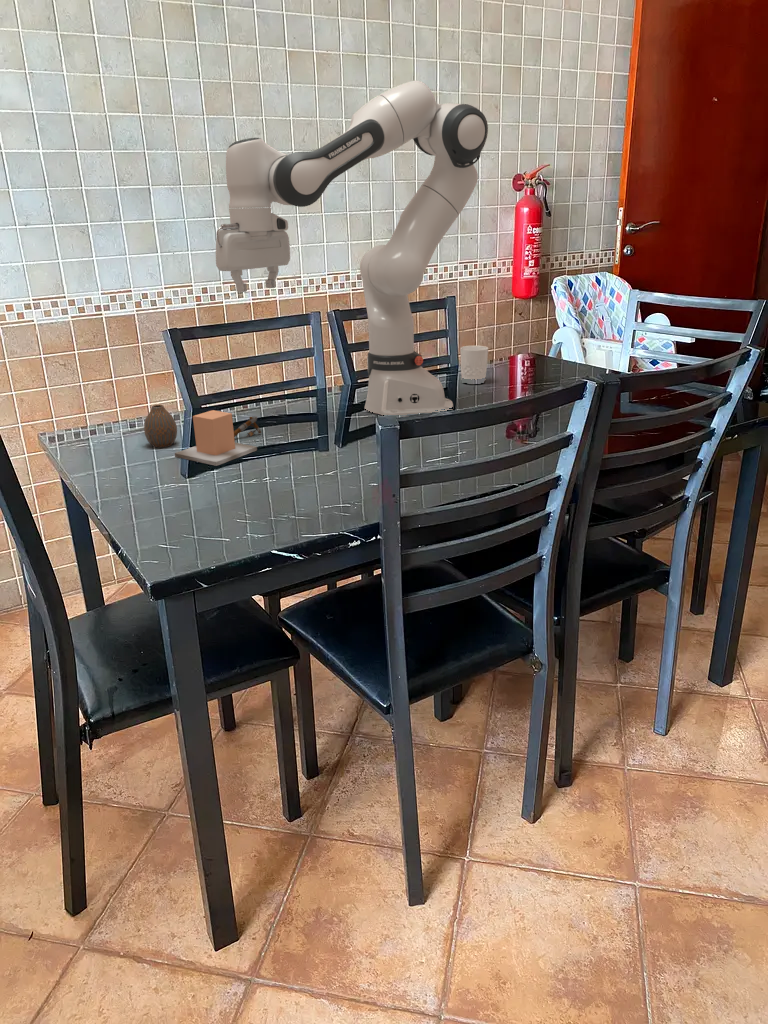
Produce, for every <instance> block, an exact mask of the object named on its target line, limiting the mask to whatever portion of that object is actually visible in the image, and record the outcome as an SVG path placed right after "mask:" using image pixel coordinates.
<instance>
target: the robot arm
mask: <svg viewBox="0 0 768 1024" xmlns="http://www.w3.org/2000/svg"><path fill="white" fill-rule="evenodd" d="M349 125H350V126H349V127H348V129H346V131H345V132H343V133H342V134H340V135H338V136H337V137H335V138H334V139H332V140H331V141H329V142H327V143H326V144H324V145H323V146H321V147H319V148H317V149H314V150H311V151H295V152H292V153H289V154H286V153H284V152H283V151H282V152H281V151H280V150H278V149H276V148H274V147H272V146H271V145H269V144H268V143H266V141H264V140H263V138H260V137H250V138H243V139H240V140H236V141H234V142H232V143H231V144H230V145H229V146H228V147H227V150H226V153H225V175H226V176H225V178H226V187H227V189H228V193H229V204H228V211H229V221H230V223H222V224H220V226H219V227H218V229H216V231H215V232H216V240H215V264H216V267H217V269H218V270H219V271H220V272H230V276H231V279H232V281H233V282H234V284H235V290H236V292H237V293H247V291H248V286H247V283H245V282H244V280H243V279H242V276H243V271H244V270H245V271H246V270H254V269H262V268H263V269H265V268H267V269H266V270H267V272H268V276H267V279H264V280H265V281H264V283H265V288H266V289H274V288H277V287H276V286H277V284H276V283H277V282H276V281H277V277H278V274H279V272H280V271H279V266H280V267H281V266H288V265H289V263H290V259H291V247H290V237H289V234H288V233H287V232H286V231H287V230H288V229H289V221H288V220H287V219H285V218H283V217H281V216H279V215H277V214H275V213H274V212H272V203H273V202H275V203H278V204H280V205H282V206H294V207H298V208H299V207H300V208H302V207H303V208H304V207H308V206H309V207H310V206H311V205H313V204H315V203H316V202H317V201H318V200H319V199H320V198H321V197H322V196H323V194H324V193H325V190H326V189H327V188H328V186H329V185H330V184H331V182H332V181H333V180H335V178H337V177H339V176H341V175H342V174H344V173H345V172H347V171H349V170H350V169H352V168H353V167H354V166H356V165H358V164H359V163H361V162H363V161H366V160H368V159H369V160H370V159H374V158H379V157H381V156H383V155H387V154H389V153H391V152H393V151H395V150H398V148H400V147H402V146H403V145H405V144H406V143H408V142H410V141H411V140H413V142H414V144H415V145H416V147H417V148H418V149H419V150H420V151H421V152H422V153H424V154H426V155H428V156H432V157H433V156H434V160H433V161H434V162H433V166H432V169H431V171H430V173H429V175H428V176H427V177H426V179H425V180H424V182H422V184H421V186H420V187H419V188H418V190H417V191H416V192H415V194H414V195H413V197H412V198H411V199H410V201H409V202H408V204H407V205H406V207H405V208H404V209H403V211H402V212H401V214H400V217H399V220H398V223H397V225H396V227H395V228H394V231H393V233H392V235H391V237H390V239H389V241H388V242H387V243H386V244H378V245H375V246H372V247H371V248H370V249H368V250H367V251H366V252H365V253H364V254H363V256H362V258H361V261H360V264H359V272H360V276H361V280H362V288H363V294H364V296H363V297H364V301H365V307H366V312H367V313H366V314H367V322H368V349H369V350H368V352H367V358H366V364H367V374H368V385H367V387H368V388H367V394H366V395H367V396H366V399H365V404H364V408H363V409H364V410H365V409H366V410H365V411H367V410H368V411H367V412H369V411H370V412H369V413H372V412H373V414H377V415H378V414H379V415H381V416H383V415H407V414H418V413H432V412H439V411H447V410H452V411H453V409H454V403H453V401H452V400H451V399H450V398H446V396H445V391H444V386H443V384H442V382H441V380H440V379H438V378H437V377H436V376H435V375H433V374H432V373H430V371H428V370H427V369H426V368H425V367H423V363H424V358H423V355H422V354H421V353H420V352H419V353H418V352H417V351H415V347H414V346H415V344H414V342H415V339H414V338H415V337H414V335H415V334H414V333H415V332H414V331H415V330H414V329H415V326H414V323H415V322H414V321H415V320H414V316H413V314H412V310H411V305H410V301H409V295H410V294H412V293H413V292H415V291H416V290H418V288H419V287H420V286H421V284H422V282H423V278H424V274H425V271H426V270H427V267H428V265H429V263H430V261H431V259H432V258H433V255H434V253H435V252H436V249H437V247H438V245H439V244H440V243H441V241H442V239H443V238H444V237H445V235H446V234H447V232H448V231H449V230H450V229H451V227H452V225H453V224H454V222H455V221H456V220H457V218H458V217H459V215H460V214H461V212H462V211H463V210H464V208H465V206H466V204H467V203H468V202H469V199H470V197H471V196H472V193H473V192H474V190H475V188H476V185H477V183H478V179H479V177H478V171H477V168H476V166H475V165H474V164H476V163H477V162H478V160H479V159H480V158H481V154H482V151H483V149H484V146H485V145H486V141H487V138H488V133H489V125H488V121H487V118H486V116H485V114H484V113H483V112H482V111H481V110H480V109H479V108H477V107H476V106H474V105H472V104H468V103H455V102H447V103H437V101H436V99H435V95H434V94H433V91H432V90H431V88H430V87H429V86H428V85H427V84H426V83H424V82H423V81H421V80H417V79H416V80H410V81H406V82H404V83H401V84H399V85H398V84H397V85H396V86H394V87H391V88H389V89H387V90H385V91H383V92H382V93H379V94H378V95H376V96H375V97H373V98H372V99H370V100H368V101H367V102H366V103H365V104H363V105H362V106H361V107H359V108H358V109H357V110H356V111H355V112H354V113H353V114H352V115H351V119H350V123H349ZM452 407H453V409H449V408H452ZM441 409H445V410H441ZM435 410H438V411H435Z"/></svg>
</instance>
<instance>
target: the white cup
mask: <svg viewBox="0 0 768 1024" xmlns="http://www.w3.org/2000/svg"><path fill="white" fill-rule="evenodd" d="M459 349H460V351H459V352H460V353H459V354H460V373H461V379H462V378H464V379H471V380H472V379H475V380H477V379H482V378H485V377H486V378H487V375H486V374H487V370H488V369H487V368H488V359H489V358H488V356H489V347H488V346H485V345H484V346H483V345H466V346H465V345H464V346H460V348H459Z"/></svg>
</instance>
